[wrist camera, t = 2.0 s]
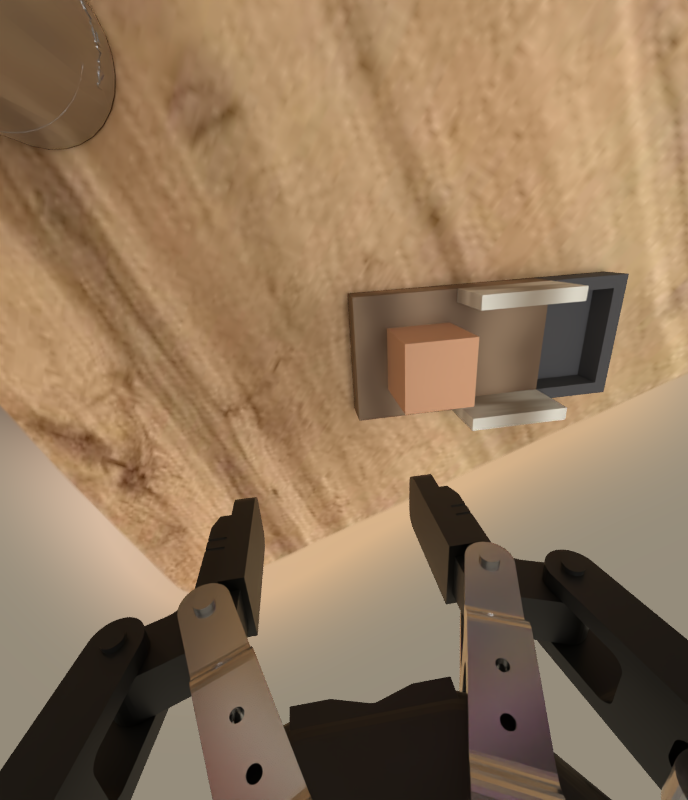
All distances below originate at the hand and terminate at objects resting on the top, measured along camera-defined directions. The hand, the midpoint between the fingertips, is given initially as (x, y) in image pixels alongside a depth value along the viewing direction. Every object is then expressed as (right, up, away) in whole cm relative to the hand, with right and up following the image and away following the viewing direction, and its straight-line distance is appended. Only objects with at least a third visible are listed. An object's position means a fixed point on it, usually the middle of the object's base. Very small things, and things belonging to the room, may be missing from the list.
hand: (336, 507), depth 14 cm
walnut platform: (+9, +9, +19) cm, 23 cm away
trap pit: (+19, +10, +20) cm, 30 cm away
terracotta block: (+6, +7, +16) cm, 19 cm away
